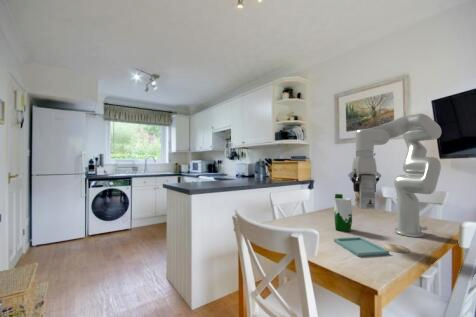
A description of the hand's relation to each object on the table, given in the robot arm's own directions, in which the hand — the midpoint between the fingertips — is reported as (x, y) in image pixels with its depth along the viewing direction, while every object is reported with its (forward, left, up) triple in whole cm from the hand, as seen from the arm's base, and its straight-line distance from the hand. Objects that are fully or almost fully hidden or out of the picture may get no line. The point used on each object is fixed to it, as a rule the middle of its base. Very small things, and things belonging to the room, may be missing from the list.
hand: (364, 191), depth 107 cm
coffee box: (0, 0, -8) cm, 8 cm away
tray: (+6, +4, -25) cm, 26 cm away
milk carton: (-3, -22, -25) cm, 33 cm away
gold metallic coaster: (-9, +8, -25) cm, 27 cm away
